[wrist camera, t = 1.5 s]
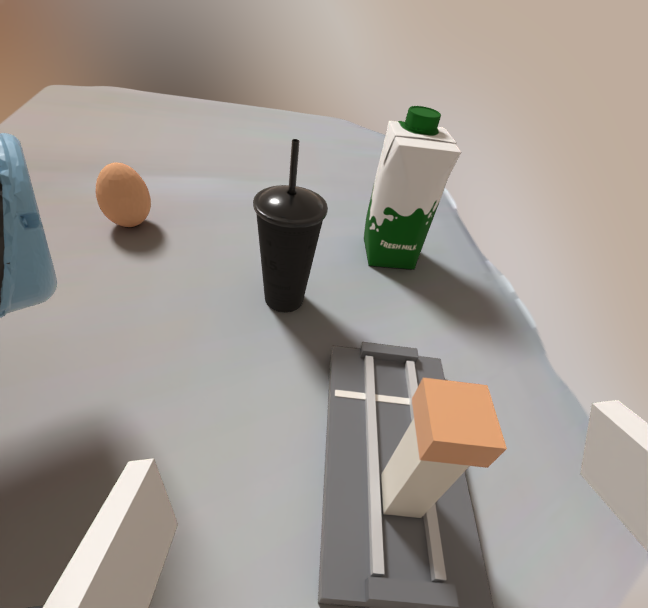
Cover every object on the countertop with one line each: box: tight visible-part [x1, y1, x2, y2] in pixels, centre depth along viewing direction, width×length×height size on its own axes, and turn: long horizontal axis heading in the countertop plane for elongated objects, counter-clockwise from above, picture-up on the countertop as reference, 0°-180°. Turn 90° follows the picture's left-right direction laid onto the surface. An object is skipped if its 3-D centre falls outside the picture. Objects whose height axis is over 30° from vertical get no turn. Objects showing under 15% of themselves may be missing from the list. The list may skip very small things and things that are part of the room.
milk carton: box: [364, 106, 461, 269], centre depth 52 cm, size 9×9×20 cm
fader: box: [381, 378, 507, 518], centre depth 26 cm, size 4×4×13 cm
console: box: [318, 342, 494, 608], centre depth 34 cm, size 22×12×3 cm, turn 177°
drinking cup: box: [253, 139, 328, 312], centre depth 42 cm, size 8×8×20 cm
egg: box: [96, 163, 151, 227], centre depth 52 cm, size 7×7×9 cm
